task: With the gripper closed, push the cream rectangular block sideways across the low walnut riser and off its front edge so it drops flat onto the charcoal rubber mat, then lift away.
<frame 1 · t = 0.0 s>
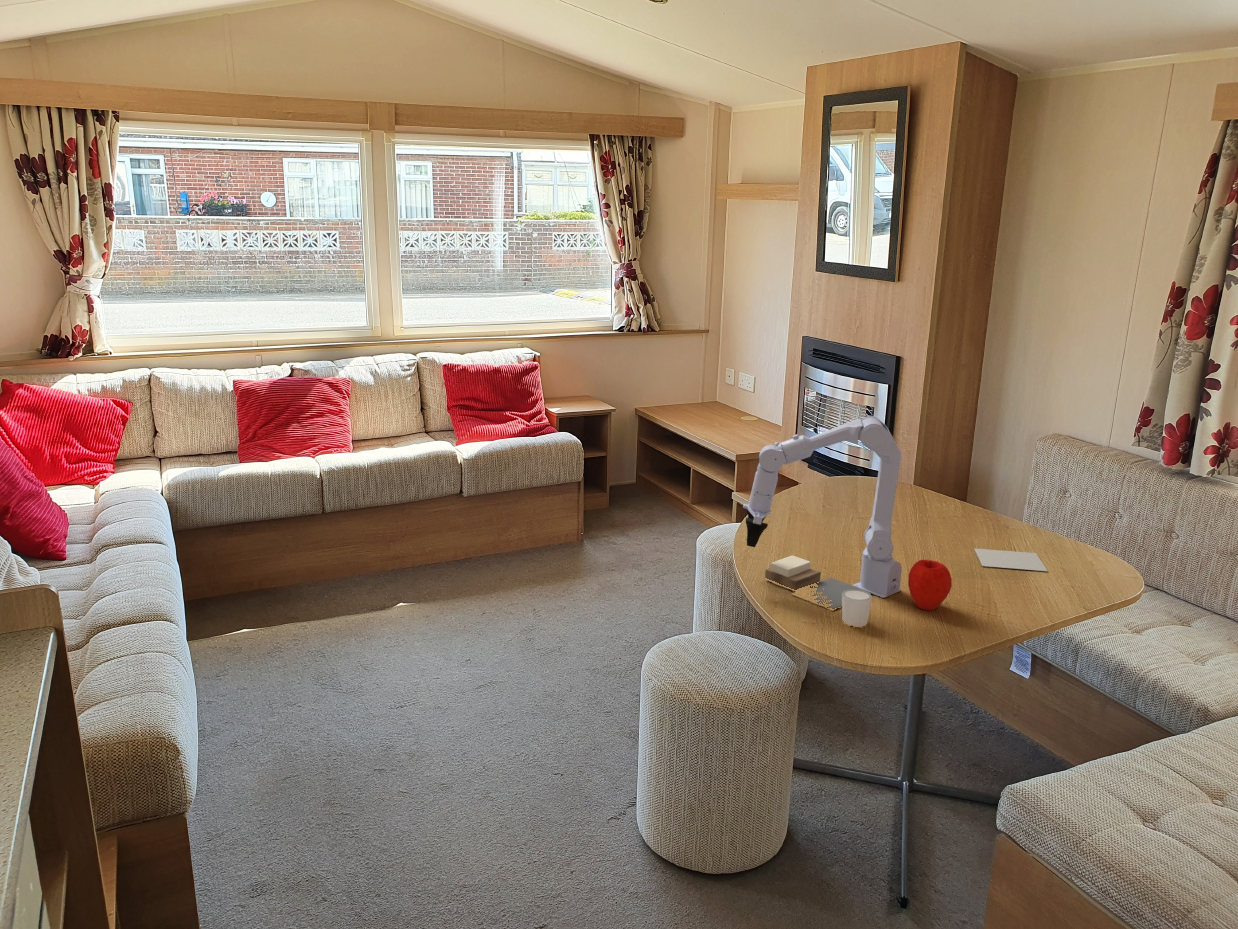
hand: (751, 540, 234), 11 cm above the table, tool pointing down, fingers open, 7 cm apart
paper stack: (996, 567, 248), on the table
riser: (792, 581, 235), on the table
shot glass: (854, 623, 212), on the table
cream rectangular block: (790, 569, 235), point 3 cm above the table, touching riser
mat: (831, 594, 227), on the table
apple: (926, 608, 221), on the table
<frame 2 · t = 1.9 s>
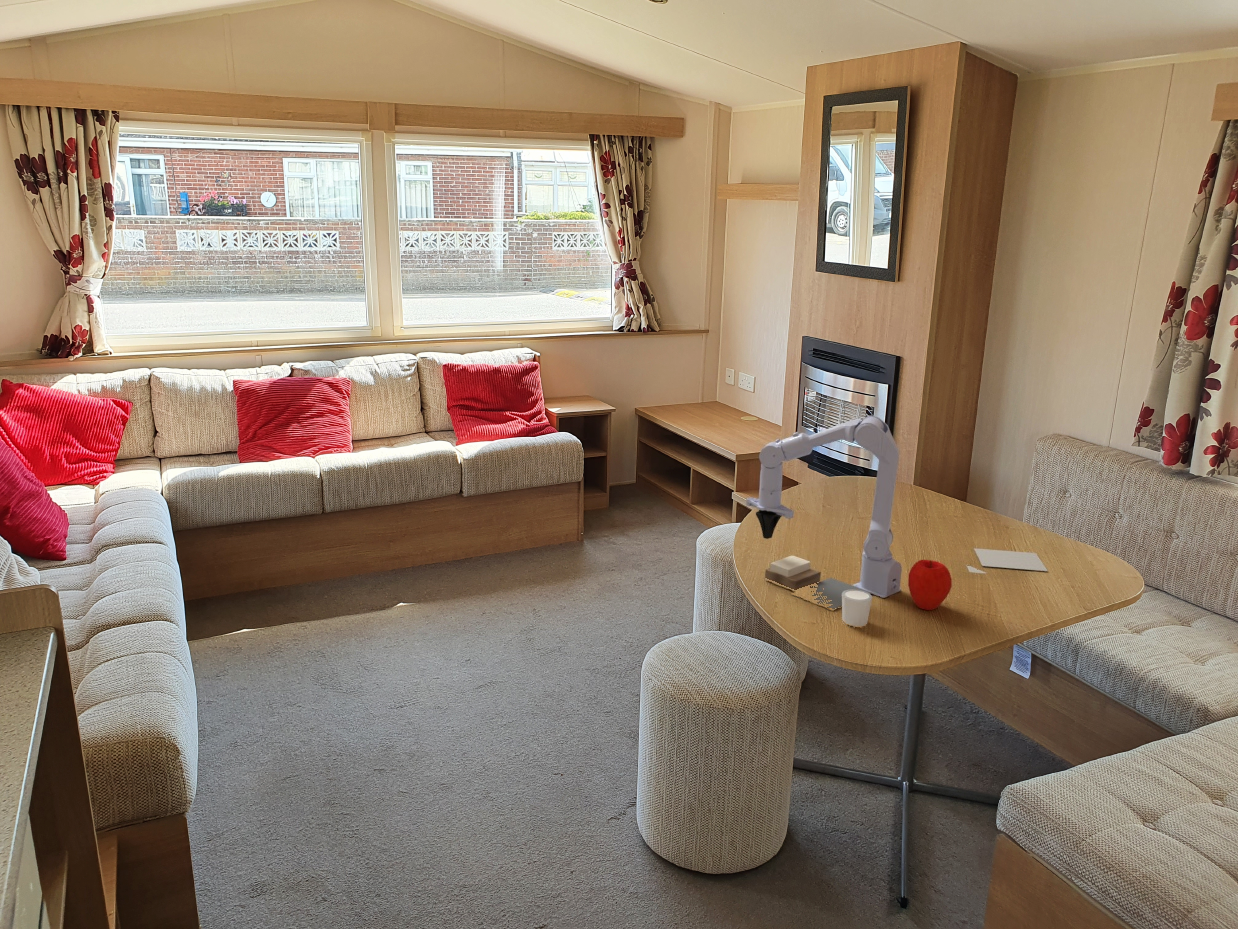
hand: (767, 537, 239), 10 cm above the table, tool pointing down, fingers closed
nothing on the table moved.
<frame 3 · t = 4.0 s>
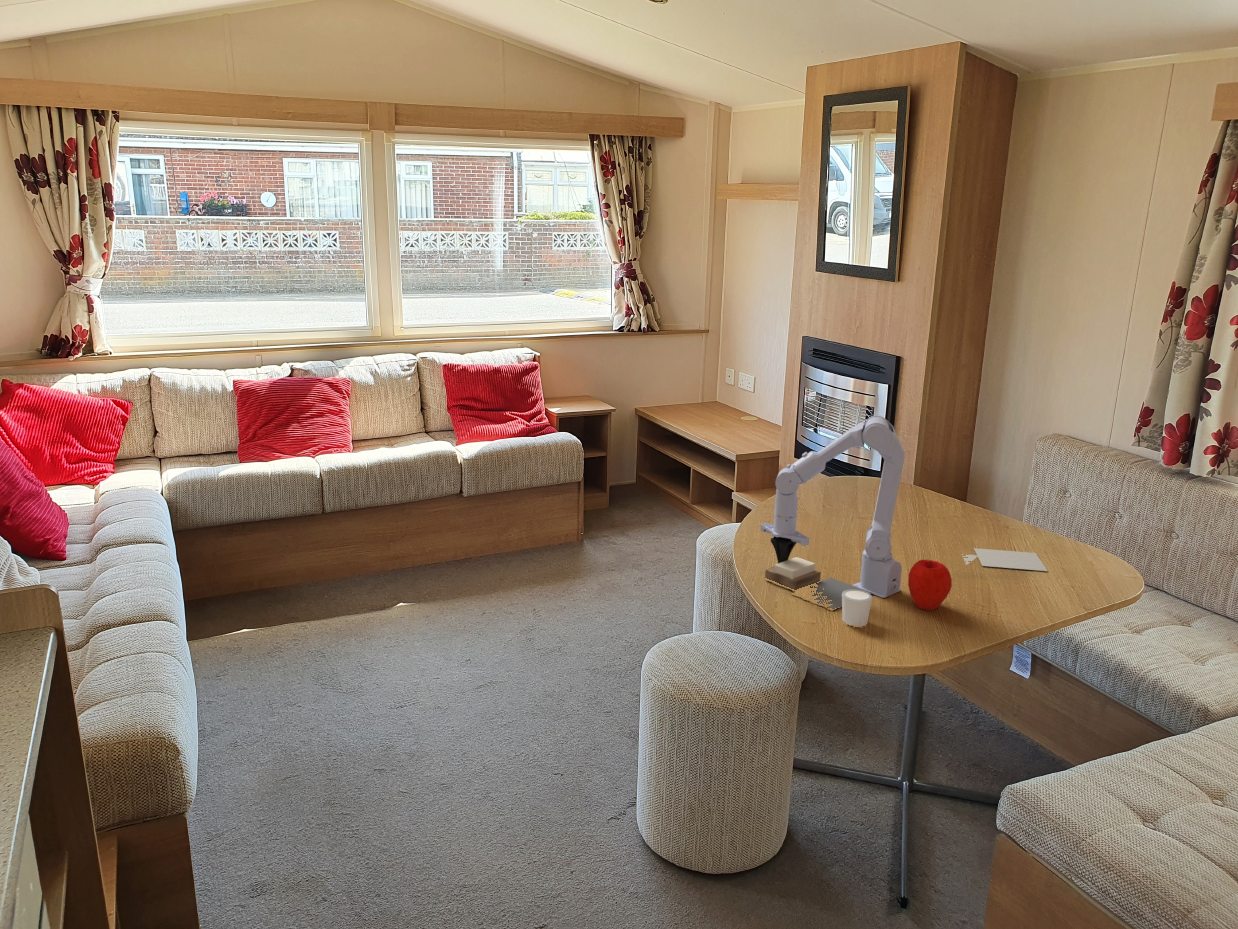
hand: (782, 564, 237), 4 cm above the table, tool pointing down, fingers closed
cream rectangular block: (794, 571, 234), point 3 cm above the table, touching gripper, riser
everything else where it was.
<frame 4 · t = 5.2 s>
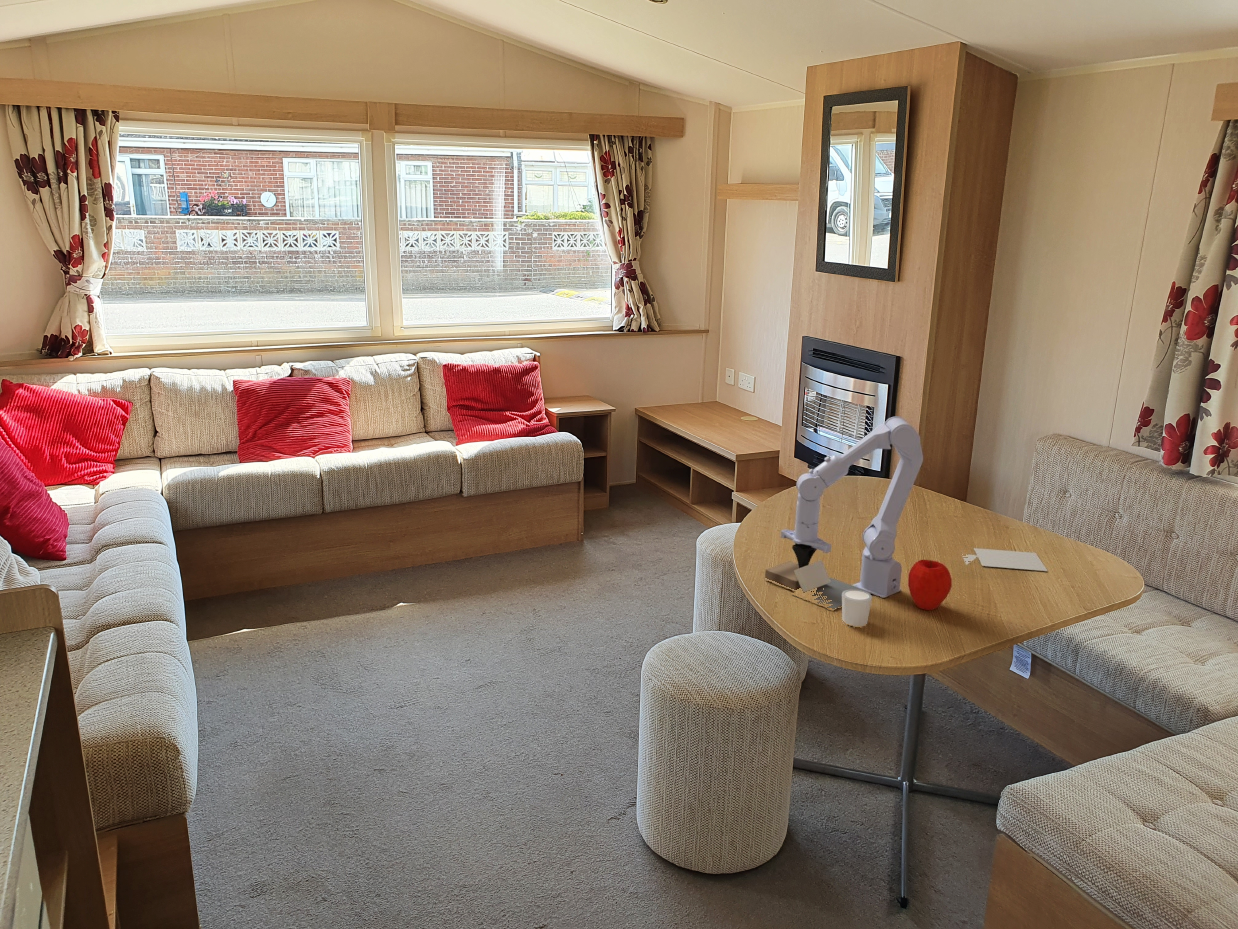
hand: (803, 571, 232), 4 cm above the table, tool pointing down, fingers closed
cream rectangular block: (809, 577, 230), point 3 cm above the table, tilted 56°, touching gripper, mat
everything else where it was.
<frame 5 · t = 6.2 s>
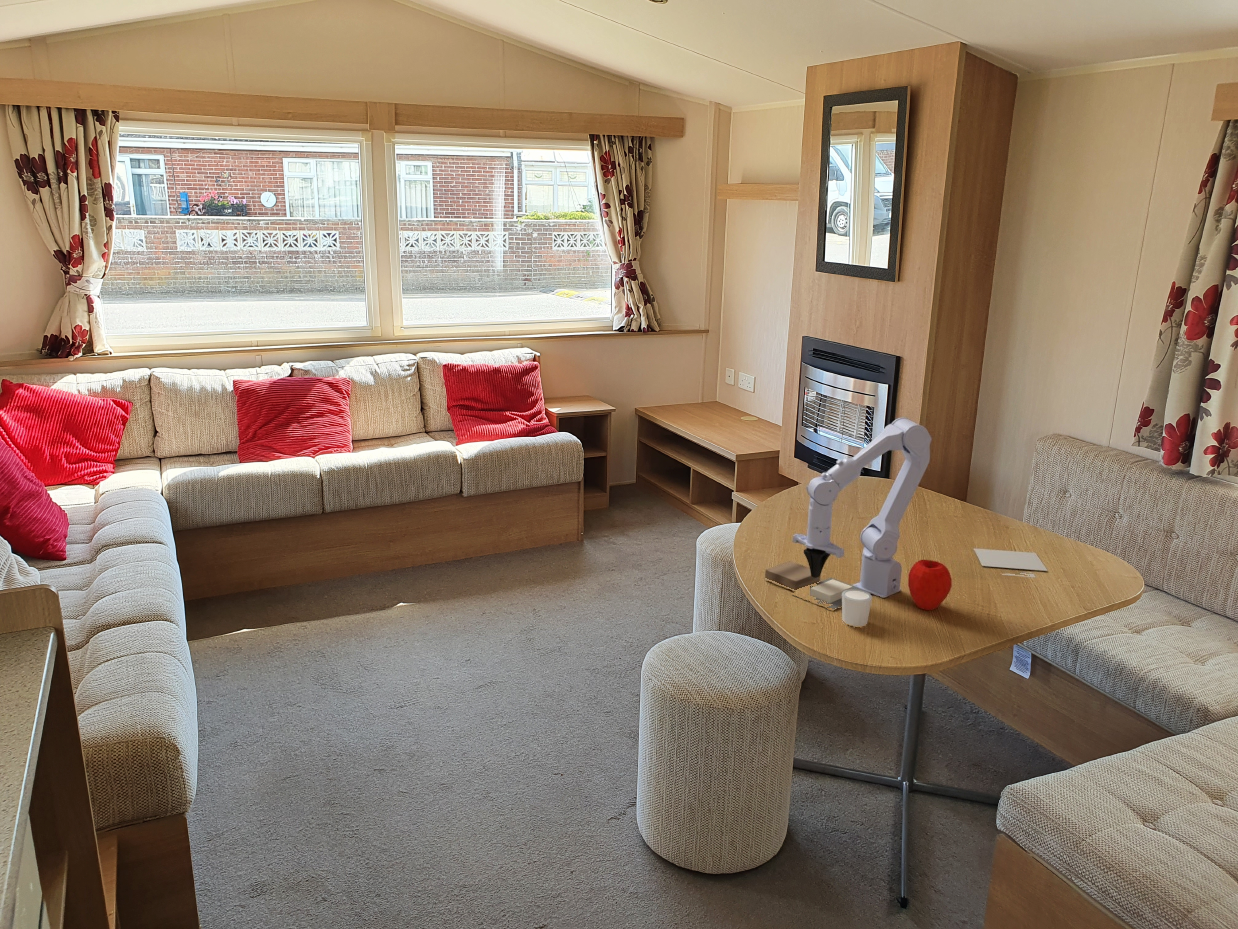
hand: (815, 576, 229), 4 cm above the table, tool pointing down, fingers closed
cream rectangular block: (831, 587, 225), point 2 cm above the table, tilted 180°, touching mat
everything else where it was.
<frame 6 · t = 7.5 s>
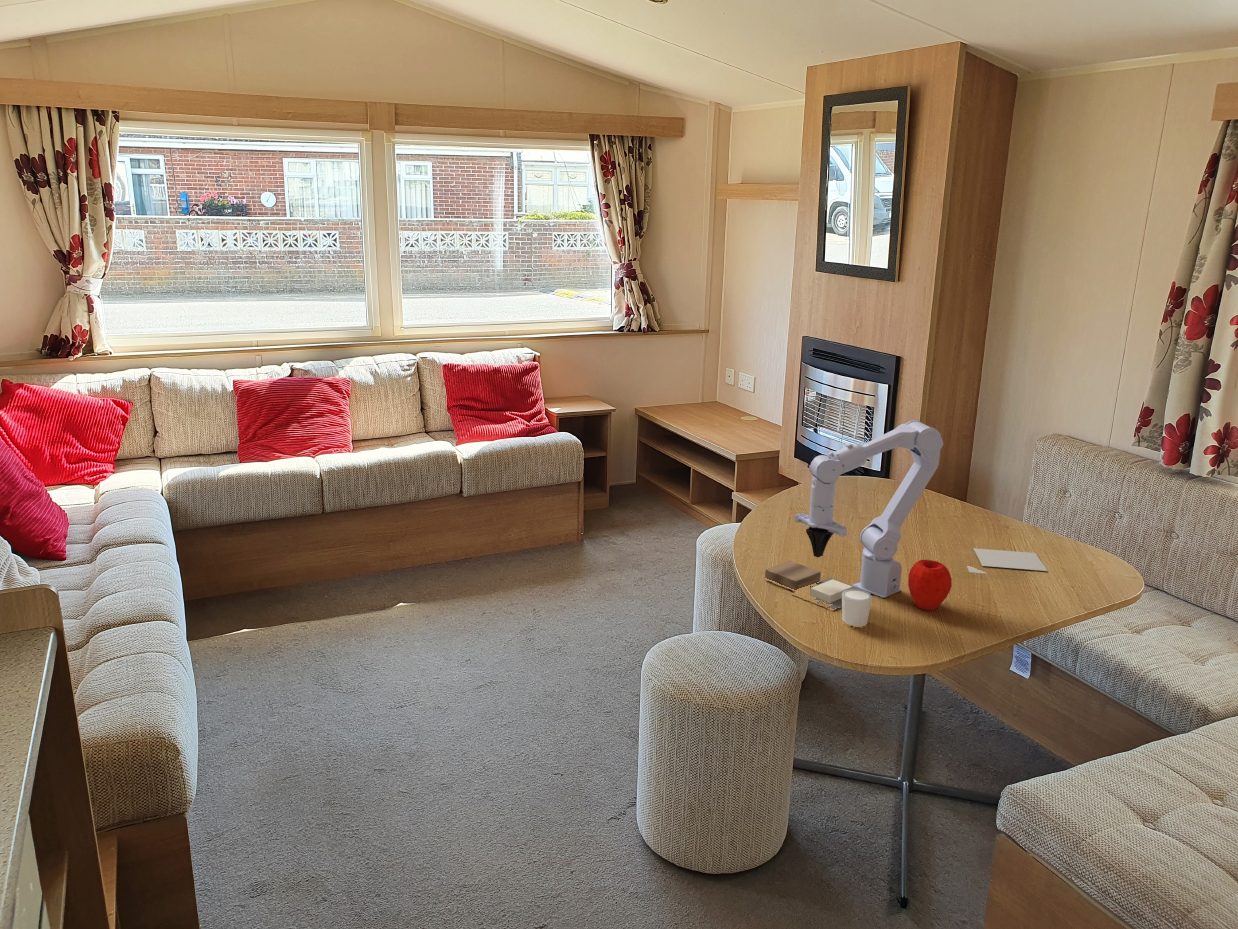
hand: (818, 555, 227), 9 cm above the table, tool pointing down, fingers closed
nothing on the table moved.
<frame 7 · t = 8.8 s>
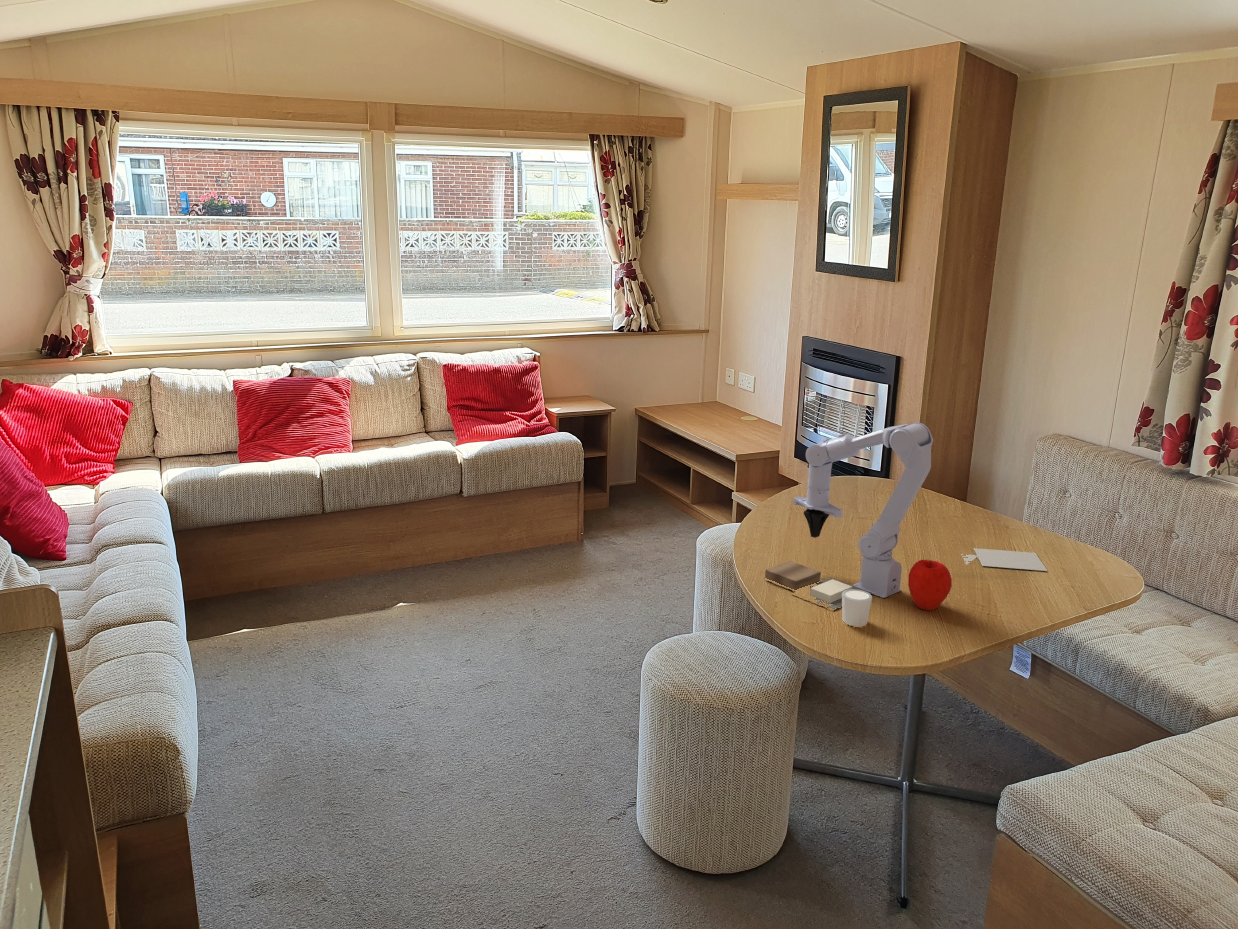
hand: (815, 536, 241), 9 cm above the table, tool pointing down, fingers closed
nothing on the table moved.
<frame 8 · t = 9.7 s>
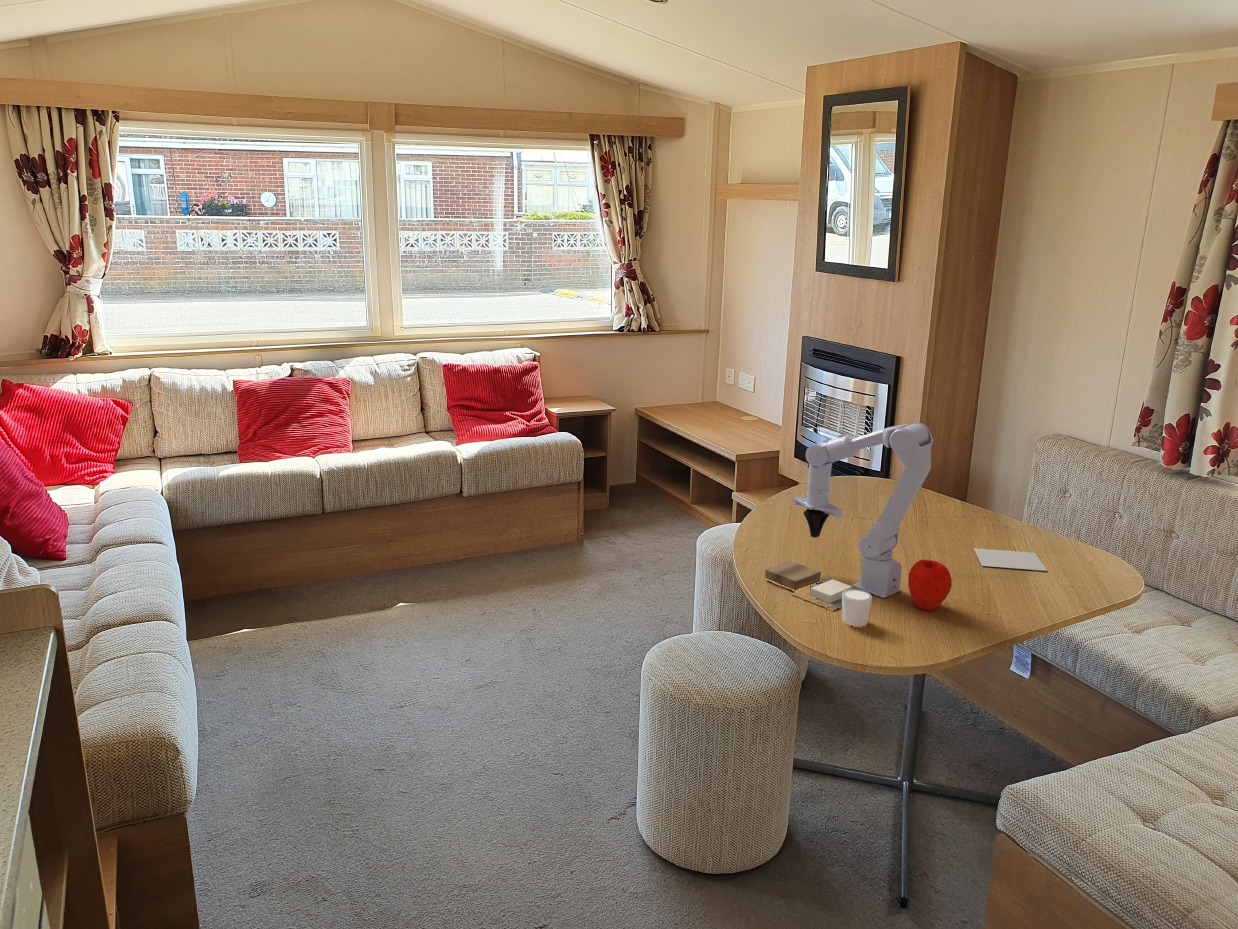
hand: (815, 536, 241), 9 cm above the table, tool pointing down, fingers closed
nothing on the table moved.
at the end: cream rectangular block inside the target area (1.2 cm from its centre), point 2.5 cm above the table; cream rectangular block touching mat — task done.
